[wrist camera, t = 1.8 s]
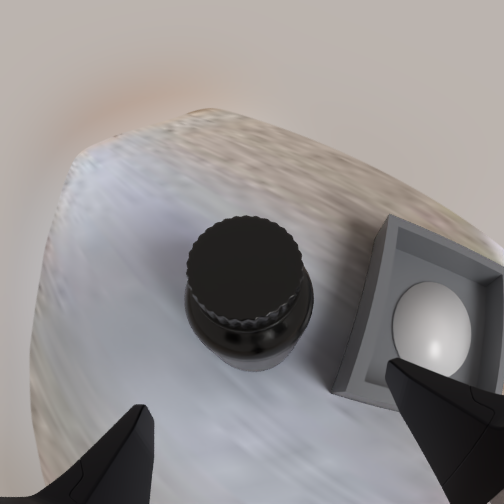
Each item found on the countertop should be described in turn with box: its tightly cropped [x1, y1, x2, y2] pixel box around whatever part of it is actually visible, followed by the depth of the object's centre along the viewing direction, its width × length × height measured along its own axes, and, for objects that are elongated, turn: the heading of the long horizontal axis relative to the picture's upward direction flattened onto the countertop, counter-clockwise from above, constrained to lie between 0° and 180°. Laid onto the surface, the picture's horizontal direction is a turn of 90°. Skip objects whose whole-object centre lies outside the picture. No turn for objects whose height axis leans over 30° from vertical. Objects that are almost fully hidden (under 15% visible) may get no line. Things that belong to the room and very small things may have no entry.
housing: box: [331, 214, 504, 412], centre depth 19 cm, size 15×15×4 cm
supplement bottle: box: [185, 215, 314, 372], centre depth 16 cm, size 7×7×12 cm
